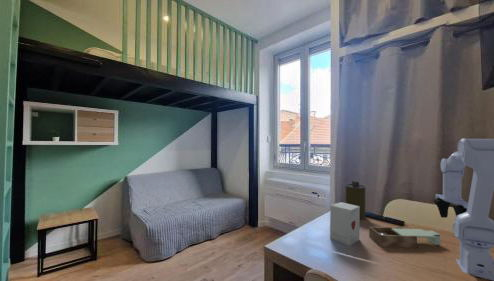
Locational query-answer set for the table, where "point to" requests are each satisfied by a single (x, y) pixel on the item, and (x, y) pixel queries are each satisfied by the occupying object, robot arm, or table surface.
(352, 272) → the table surface
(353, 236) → the supplement box
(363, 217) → the canister
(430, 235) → the lid
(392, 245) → the tub
